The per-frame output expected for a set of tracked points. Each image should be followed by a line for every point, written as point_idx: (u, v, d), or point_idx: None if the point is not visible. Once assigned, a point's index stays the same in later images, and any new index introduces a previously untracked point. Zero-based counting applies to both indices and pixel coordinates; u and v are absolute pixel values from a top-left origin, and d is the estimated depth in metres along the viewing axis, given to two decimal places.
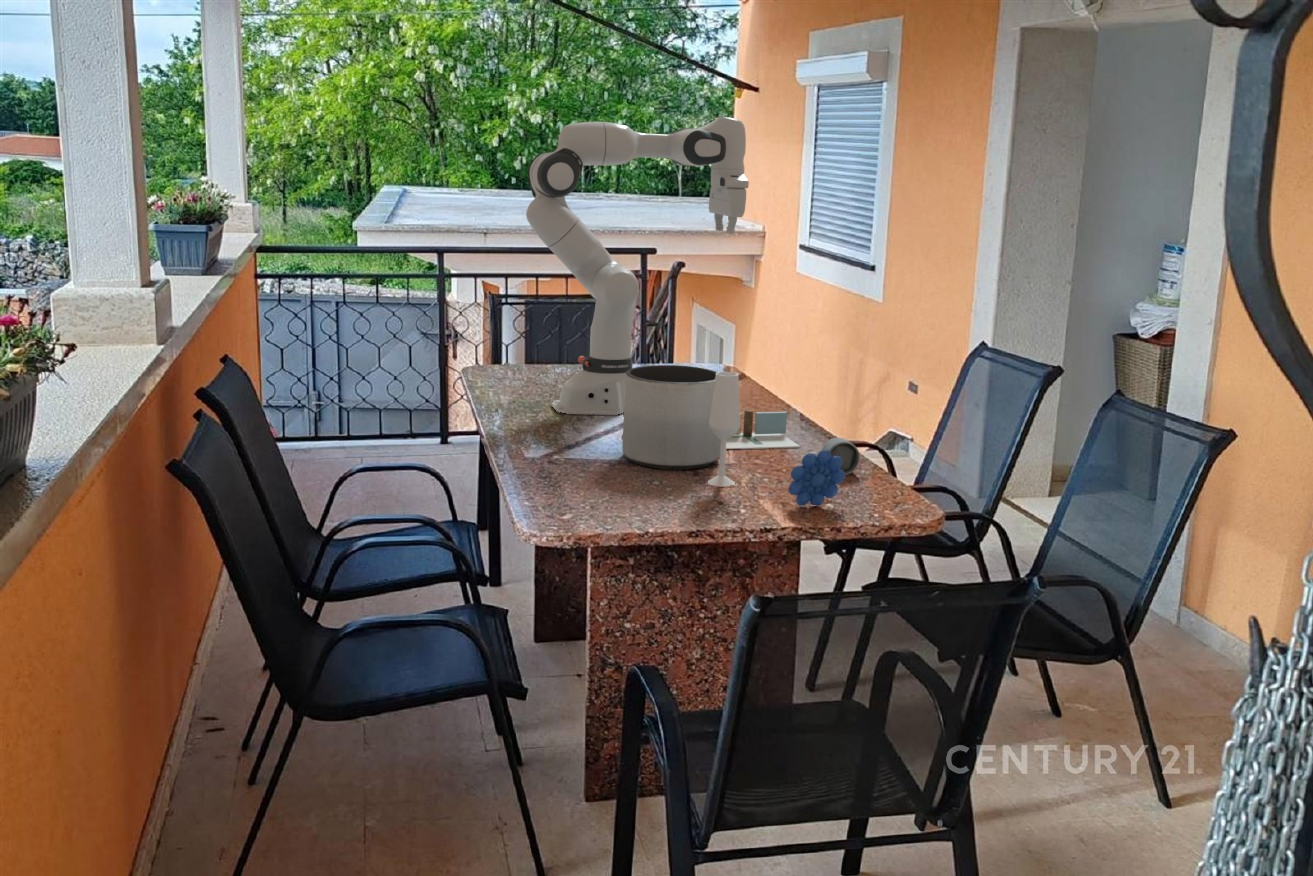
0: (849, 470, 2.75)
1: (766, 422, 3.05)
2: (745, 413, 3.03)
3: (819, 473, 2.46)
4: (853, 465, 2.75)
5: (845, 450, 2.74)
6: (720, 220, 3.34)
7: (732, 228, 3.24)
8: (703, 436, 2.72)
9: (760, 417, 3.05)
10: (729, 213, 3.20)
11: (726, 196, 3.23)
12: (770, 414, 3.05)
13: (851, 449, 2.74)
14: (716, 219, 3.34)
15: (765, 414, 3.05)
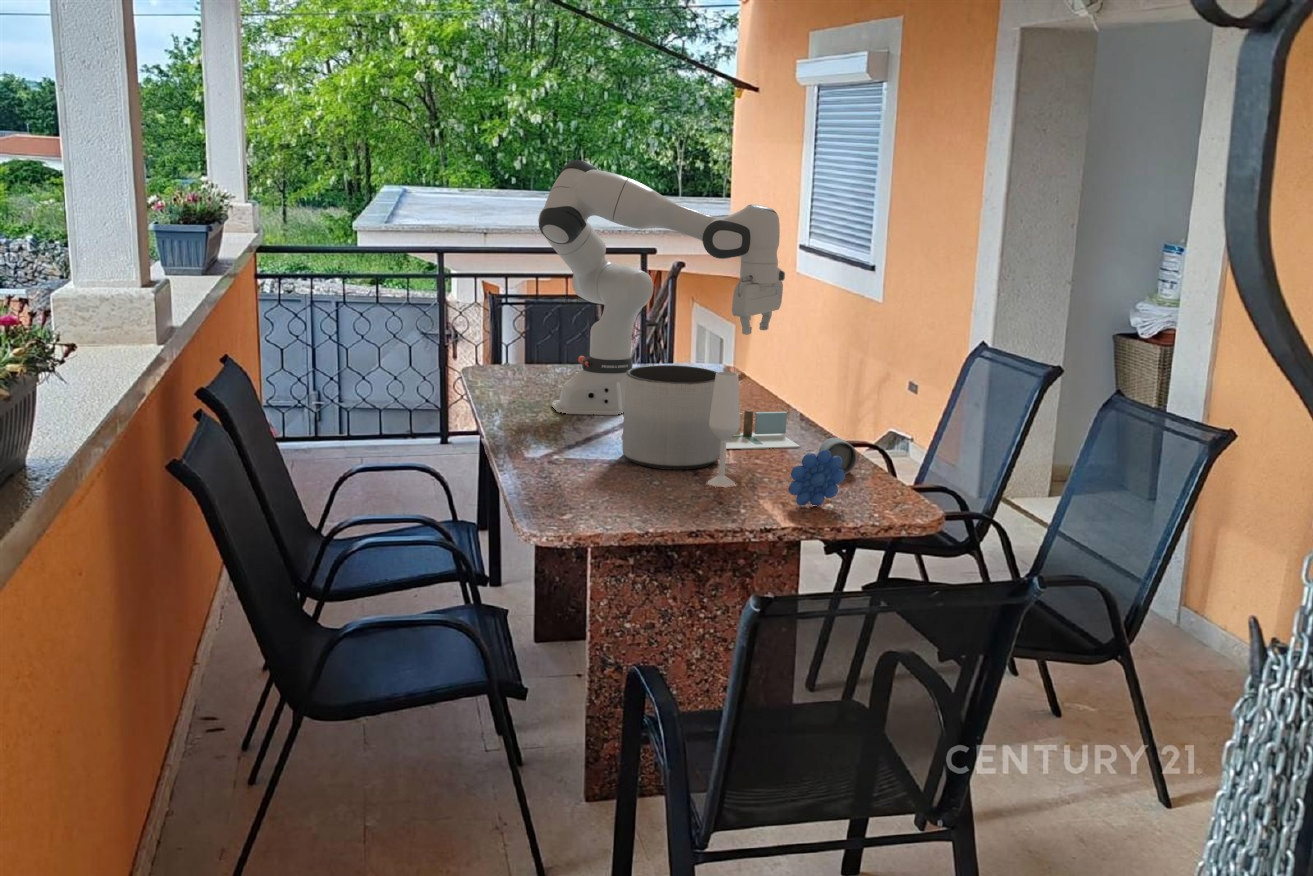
0: (846, 470, 2.75)
1: (766, 422, 3.05)
2: (745, 413, 3.03)
3: (819, 473, 2.46)
4: (850, 465, 2.75)
5: (842, 450, 2.74)
6: None
7: None
8: (703, 436, 2.72)
9: (760, 417, 3.05)
10: (779, 306, 2.99)
11: (771, 291, 2.95)
12: (770, 414, 3.05)
13: (848, 449, 2.74)
14: None
15: (765, 414, 3.05)
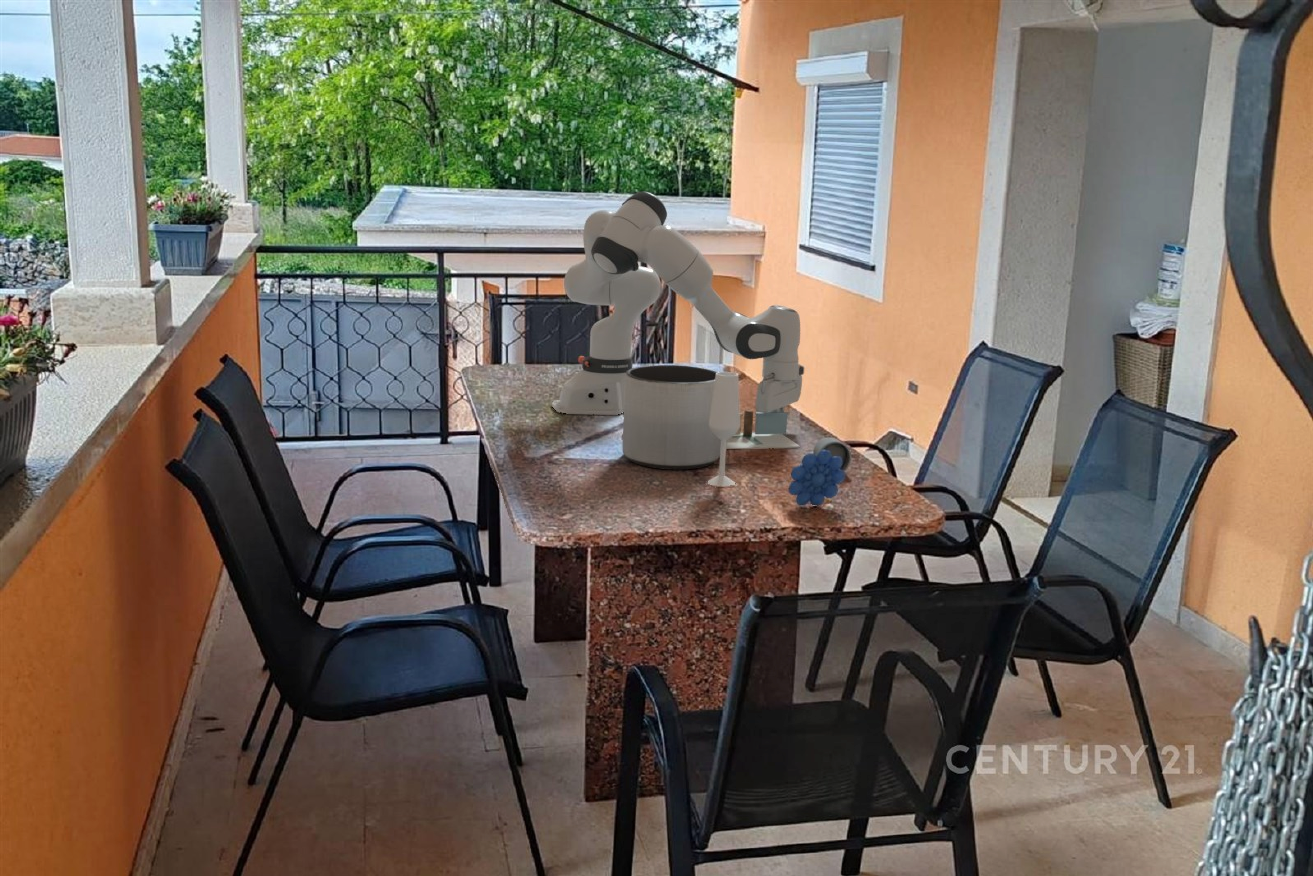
0: None
1: (766, 423, 3.05)
2: (745, 413, 3.03)
3: (819, 473, 2.46)
4: (844, 465, 2.75)
5: (836, 450, 2.74)
6: None
7: None
8: (703, 436, 2.72)
9: (760, 417, 3.04)
10: (798, 398, 3.15)
11: (791, 385, 3.10)
12: (770, 414, 3.05)
13: (842, 449, 2.74)
14: None
15: (765, 414, 3.04)
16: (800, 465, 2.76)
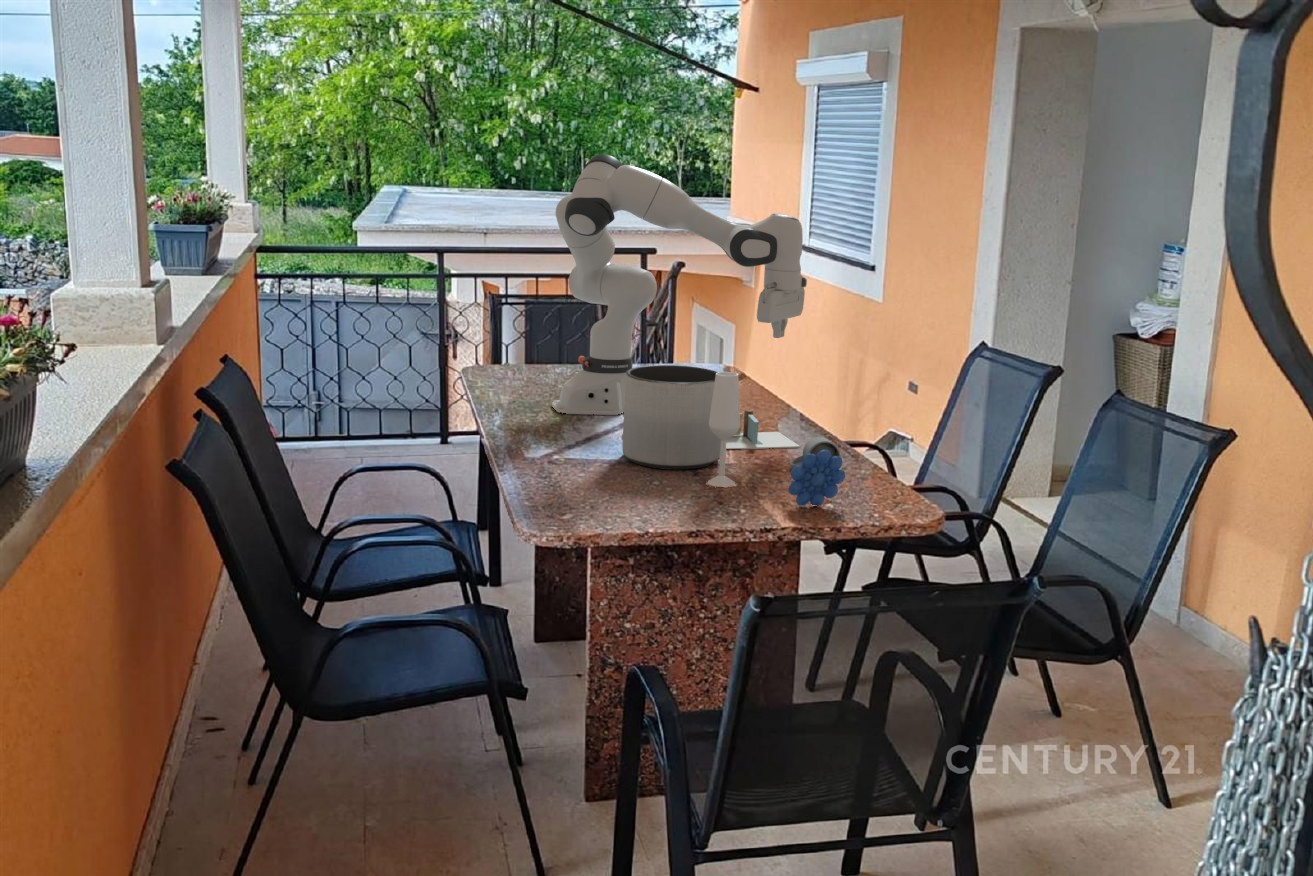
0: None
1: (750, 427, 3.00)
2: (745, 413, 3.03)
3: (819, 473, 2.46)
4: None
5: (825, 449, 2.73)
6: None
7: None
8: (703, 436, 2.72)
9: (749, 420, 3.01)
10: (801, 312, 3.08)
11: (793, 297, 3.03)
12: (751, 419, 2.99)
13: (832, 448, 2.74)
14: None
15: (749, 418, 3.00)
16: (790, 465, 2.76)
